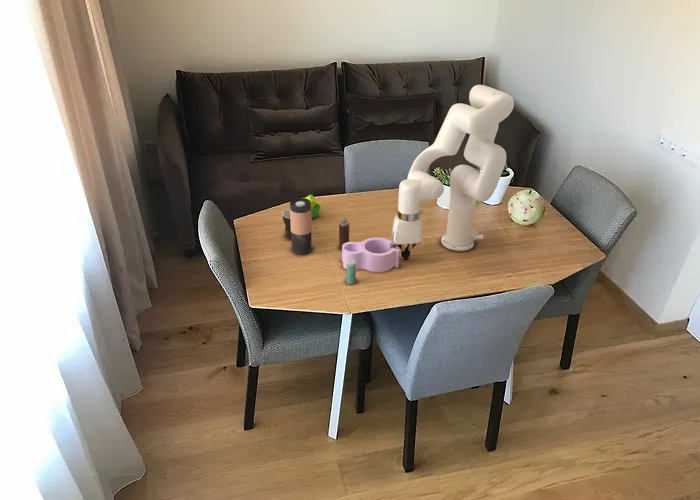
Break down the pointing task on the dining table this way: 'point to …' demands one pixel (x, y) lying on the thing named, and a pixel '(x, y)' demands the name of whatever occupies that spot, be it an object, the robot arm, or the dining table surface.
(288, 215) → the coffee mug
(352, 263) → the green cylinder
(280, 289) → the dining table surface
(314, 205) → the fruit basket
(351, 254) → the clip
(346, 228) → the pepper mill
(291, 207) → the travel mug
